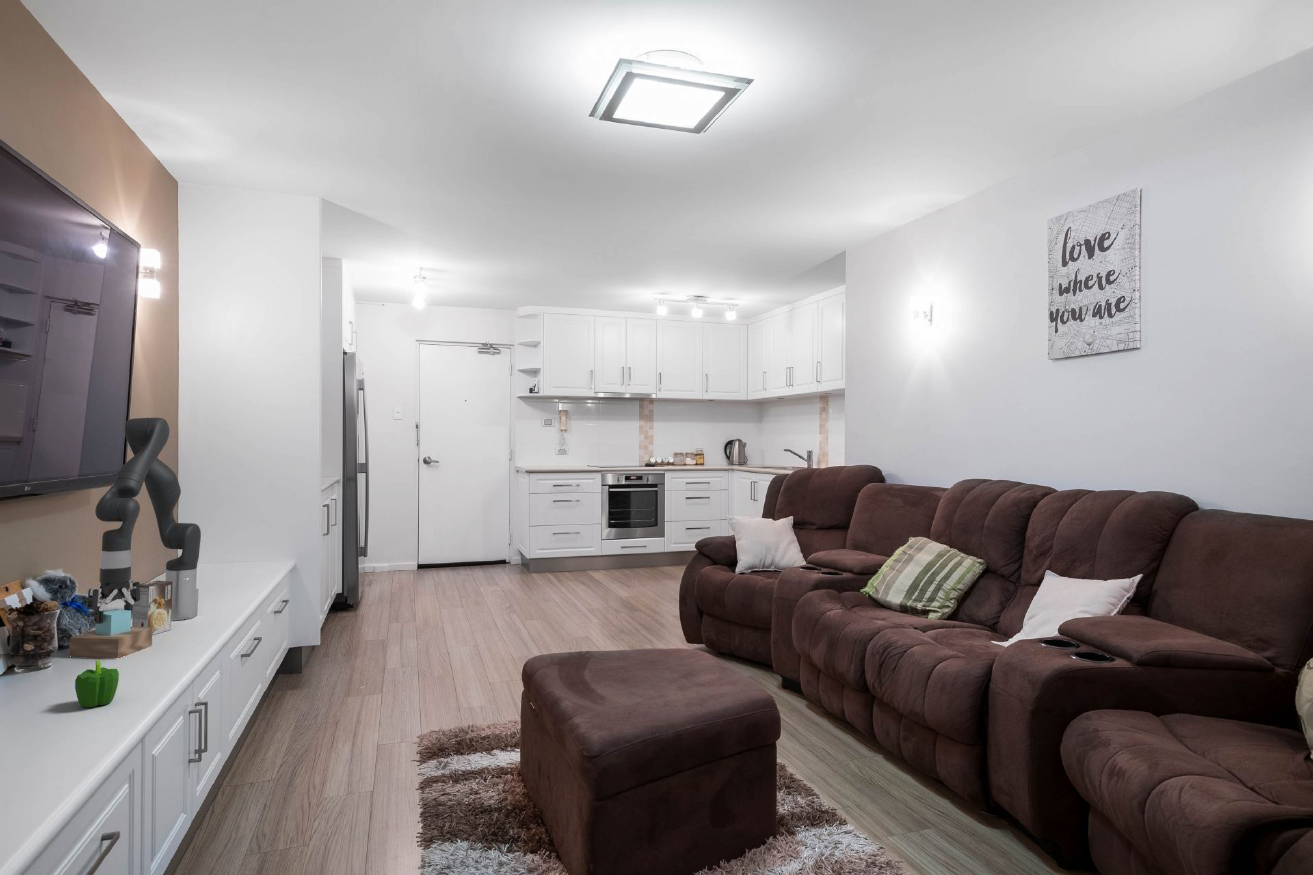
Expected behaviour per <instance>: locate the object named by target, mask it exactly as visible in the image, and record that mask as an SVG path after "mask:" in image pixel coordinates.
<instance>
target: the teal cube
mask: <svg viewBox="0 0 1313 875" xmlns="http://www.w3.org/2000/svg"><path fill="white" fill-rule="evenodd" d="M103 611H104V610H103ZM131 623H132V615H131V611H129V610H124V609H120V608H114V609H110V610H105V611H104V616H103V623H102V624H96V623H95V625H94V626H95V628H94V630H95V634H101V635H109V636H112V635H116V634H120V633H124V632H128V631H130V630H131V627H132V624H131Z"/></svg>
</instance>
